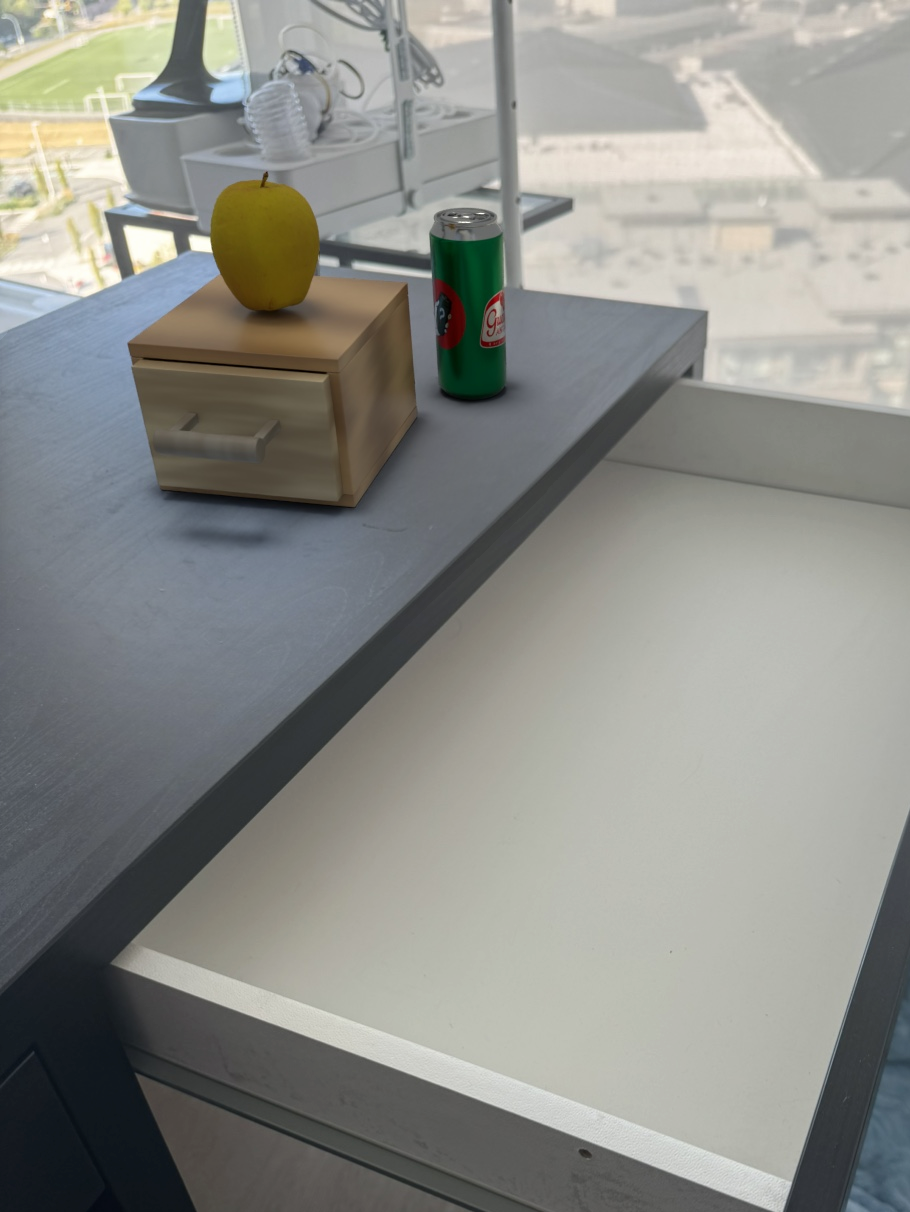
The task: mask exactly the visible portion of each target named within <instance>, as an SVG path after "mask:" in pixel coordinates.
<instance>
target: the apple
mask: <svg viewBox="0 0 910 1212" xmlns="http://www.w3.org/2000/svg"><path fill="white" fill-rule="evenodd" d="M268 178H269V172H268V170H266V171H265V172H264V173H263V174H262V179H250V180H240V181H237V182H233V183H232V184H229V185H227V186H226V187H225V188H223V190H222V191H221V192H220V193H219V195H218V196H217V198H216V200H215V203H214V205H213V210H212V213H211V217H210V232H209V235H210V237H209V238H210V239H209V240H210V241H209V242H210V247H211V252H212V256H213V259H214V262H215V265H216V268H217V269H218V271H219V274H221V276H222V277H223V279H224V282H225V283H226V285H227V286H228V288H229V289H230V291H231V292H232V294H233V295H234V296H235V298H236V299H237V300H238V301H239V302H240V303H241V304H242V305H243V306H244V307H246V308H248V309H249V310H253V311H257V310H267V311H272V310H277V309H281V308H286V307H288V306H294V305H298V304H300V303H301V302H302V301H303V300H304V299H305V297H306V295H307V293H308V291H309V288H310V285H311V282H312V278H313V276H314V273H315V269H316V265H317V261H318V256H319V248H321V247H320V245H321V243H320V240H321V239H320V231H319V226H318V223H317V222H318V221H317V218H316V215H315V213H314V211H313V208H312V207H311V205H310V204H311V203H309V202H308V200H307V199H306V198H305V196H303V194H302V193H300V192H299V191H298V190H296V188H294V187H291V186H288V185H287V184H285V183H276V182H272V181H267V180H268Z"/></svg>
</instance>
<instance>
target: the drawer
mask: <svg viewBox="0 0 910 1212" xmlns="http://www.w3.org/2000/svg"><path fill="white" fill-rule="evenodd" d="M130 367H131V368H130V369H131V373H132V378H133V381H134V385H135V390H136V394H137V399H138V403H139V407H140V411H141V416H142V420H143V425H144V429H145V433H146V438H147V442H148V446H149V450H150V456H151V459H152V460H151V461H152V464H153V469H154V471H155V472H154V473H155V477H156V481H157V486H160V485H162V486H173V487H184V488H195V489H206V490H217V491H228V492H238V493H249V494H260V495H271V496H282V497H293V498H304V499H315V500H326V501H338V500H339V499H340V497H341V496H342V495H343V484H342V476H341V468H340V460H339V451H338V443H337V435H336V427H335V419H334V410H333V402H332V394H331V386H330V377H329V375H328V374H327V372H321V371H309V370H296V369H284V368H271V367H258V366H246V365H233V364H221V363H208V362H196V361H183V360H171V359H163V361H153V360H139V361H138V362H136V363H135V364H134V365H131V366H130Z"/></svg>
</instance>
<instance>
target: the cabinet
mask: <svg viewBox="0 0 910 1212" xmlns="http://www.w3.org/2000/svg"><path fill="white" fill-rule="evenodd" d="M408 285H409V284H408V282H405V281H392V280H377V279H363V278H349V277H336V276H322V275H320V276H313V278H312V282H311V285H310V288H309V291H308V293H307V295H306V297H305V299H304V300H303V301H302V302H301V303H300V304H298V305H294V306H288V307H286V308H281V309H277V310H272V311H267V310H257V311H253V310H249V309H248V308H246V307H244V306H243V305H242V304H241V303H240V302H239V301H238V300H237V299H236V298H235V296H234V295H233V294H232V292H231V291H230V289H229V288H228V286H227V285H226V283H225V282H224V279H223V277H222V276H221V274H220V273H219V274H217V275H216V276H215V277H214V278H212V279H211V280H210V281H208V282H207V283H205V284H204V285H203V286H202V287H199V289H197V290H196V291H195V292H194V293H192V294H191V295H189V296H188V297H187V298H185V299H184V300H183V301H181V302H180V303H178V304H177V305H176V306H175V307H173V308H172V309H171V310H169V311H168V312H167V313H165V314H164V315H163V316H161V317H160V318H159V319H157V320H156V321H154V322H153V323H152V324H150V325H149V326H148V327H147V328H145V329H144V330H142V331H141V332H140V333H138V334H137V335H135V336H134V337H133V338H132V339H130V340H129V341H127V343H126V344H127V345H126V346H127V348H128V353H129V356H130V361H131V366H133V365H134V364H135V363H136V362H138V361H139V360H153V361H163V359H171V360H183V361H196V362H208V363H221V364H233V365H246V366H258V367H271V368H284V369H296V370H309V371H321V372H327V374H328V375H329V377H330V386H331V394H332V402H333V410H334V419H335V427H336V435H337V443H338V451H339V460H340V468H341V476H342V484H343V495H342V496H341V497H340V499H339V500H338V501H326V500H315V499H304V498H293V497H282V496H271V495H260V494H249V493H238V492H228V491H217V490H206V489H195V488H184V487H173V486H162V485H159V489H160V490H163V491H173V492H174V491H175V492H185V493H194V494H196V493H197V494H206V495H216V496H229V497H239V498H250V499H260V500H261V499H262V500H269V501H270V500H271V501H273V500H274V501H282V502H293V503H304V504H314V505H326V506H337V507H349V508H356V506H357V505H358V503H359V502H360V501H361V499H362V498H363V496H364V495H365V493H366V491H368V489H369V488H370V486H371V485H372V483H373V482H374V480H375V478H377V476H378V474H379V473H380V471H381V470H382V468H383V467H384V465H385V464H386V463H387V461H388V459H389V458H391V455H392V454H393V452H394V451H395V450H396V448H397V447H398V445H399V443H400V442H401V441H402V439H403V438H404V437H405V435H406V433H407V432H408V430H409V429H410V428H411V426H412V424H413V423H414V422H415V420H416V419H417V417H418V406H417V394H416V381H415V379H416V377H415V370H414V369H415V367H414V352H413V340H412V327H411V312H410V311H411V310H410V298H409V286H408Z"/></svg>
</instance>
